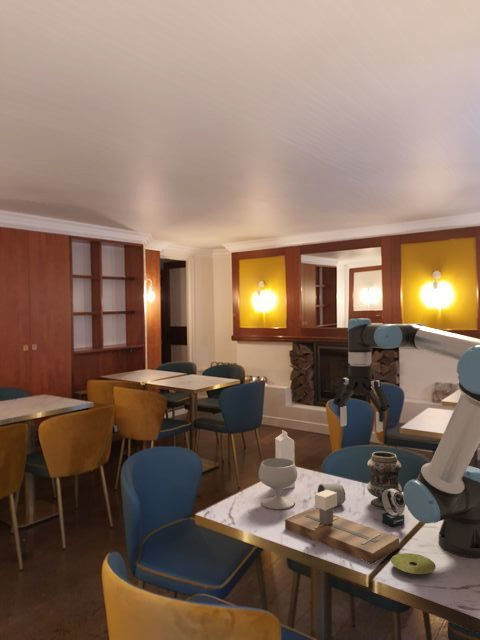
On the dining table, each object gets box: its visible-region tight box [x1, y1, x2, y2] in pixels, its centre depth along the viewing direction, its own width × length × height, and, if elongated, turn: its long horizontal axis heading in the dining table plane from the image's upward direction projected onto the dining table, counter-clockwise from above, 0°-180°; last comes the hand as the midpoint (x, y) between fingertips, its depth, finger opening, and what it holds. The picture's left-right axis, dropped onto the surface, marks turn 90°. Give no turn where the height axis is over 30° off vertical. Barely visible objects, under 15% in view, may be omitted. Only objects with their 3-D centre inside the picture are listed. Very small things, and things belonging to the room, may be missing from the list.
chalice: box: [258, 457, 298, 510], centre depth 179 cm, size 14×14×15 cm
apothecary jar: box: [366, 451, 403, 510], centre depth 178 cm, size 12×12×18 cm
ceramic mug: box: [317, 483, 346, 506], centre depth 180 cm, size 11×8×8 cm
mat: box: [390, 552, 436, 575], centre depth 131 cm, size 11×11×2 cm
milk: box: [274, 429, 296, 490], centre depth 198 cm, size 6×6×22 cm
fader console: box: [284, 507, 400, 565], centre depth 151 cm, size 32×14×3 cm, turn 43°
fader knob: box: [314, 490, 338, 525], centre depth 155 cm, size 4×6×9 cm, turn 133°
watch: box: [381, 489, 406, 529], centre depth 161 cm, size 6×8×11 cm
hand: (361, 428), depth 164 cm, fingers open, 13 cm apart
